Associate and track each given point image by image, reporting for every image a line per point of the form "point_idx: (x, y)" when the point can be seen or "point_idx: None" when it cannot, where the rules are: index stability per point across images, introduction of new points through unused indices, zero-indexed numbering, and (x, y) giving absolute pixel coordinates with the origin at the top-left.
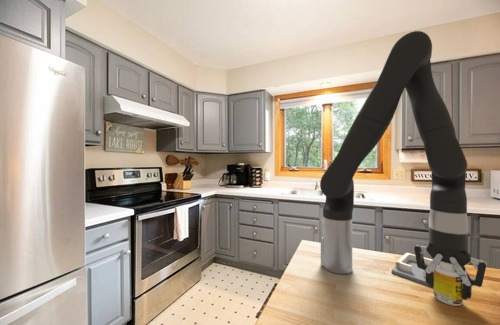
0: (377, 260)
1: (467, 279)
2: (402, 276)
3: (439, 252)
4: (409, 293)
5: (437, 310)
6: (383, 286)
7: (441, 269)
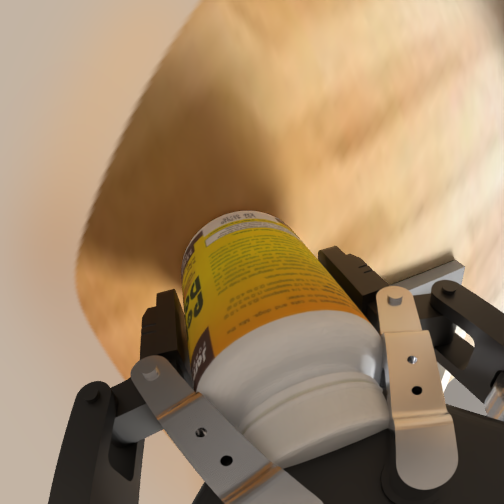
0: (489, 298)
1: (150, 396)
2: (425, 272)
3: (439, 496)
4: (372, 146)
5: (228, 104)
6: (452, 105)
7: (337, 349)
